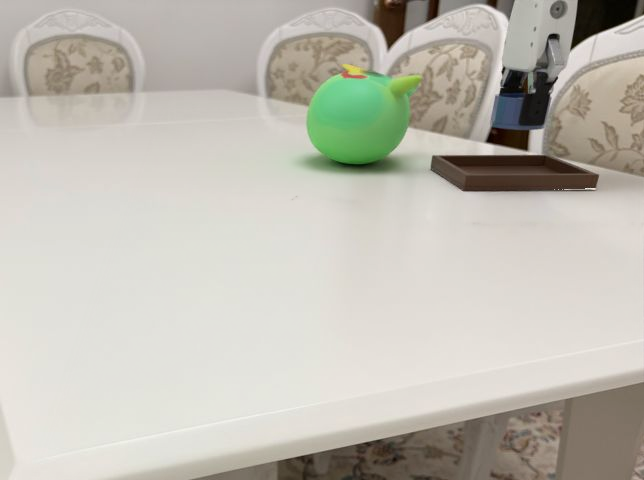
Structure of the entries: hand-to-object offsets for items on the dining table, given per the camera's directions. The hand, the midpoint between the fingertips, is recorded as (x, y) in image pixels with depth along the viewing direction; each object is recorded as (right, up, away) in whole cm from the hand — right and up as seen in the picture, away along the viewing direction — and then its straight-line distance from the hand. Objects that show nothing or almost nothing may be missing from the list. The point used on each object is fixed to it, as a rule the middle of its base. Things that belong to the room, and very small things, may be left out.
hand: (518, 120), depth 95 cm
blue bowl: (0, -1, 0) cm, 1 cm away
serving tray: (0, -7, +4) cm, 8 cm away
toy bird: (-19, -2, +15) cm, 24 cm away
